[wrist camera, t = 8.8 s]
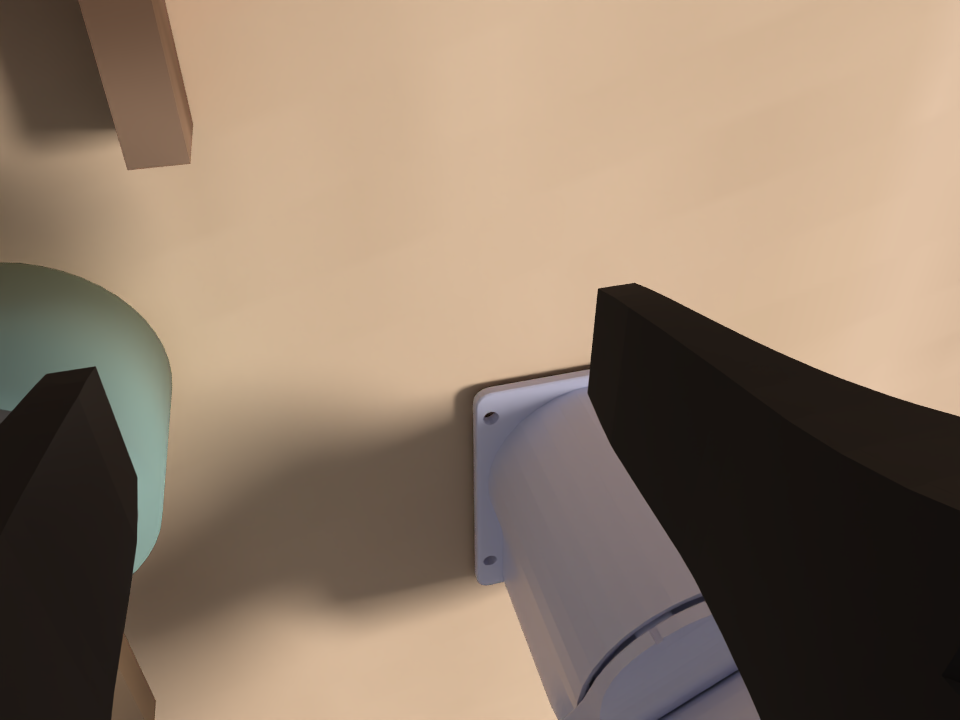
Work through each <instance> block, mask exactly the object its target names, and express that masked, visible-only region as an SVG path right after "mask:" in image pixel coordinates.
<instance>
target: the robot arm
mask: <svg viewBox="0 0 960 720" xmlns="http://www.w3.org/2000/svg"><path fill="white" fill-rule="evenodd" d="M489 412H494V413H493V414H492V415H491V416H489V417H484V416H485V415H486V414H487V413H489ZM473 446H474V530H475V575H476V578H477V581H478V583H480V584H481V585H492V584H496V583H500V582H504V583H505V585H506V588H507V590H508V593H509V596H510V598H511V601H512V604H513V606H514V609H515V612H516V614H517V617H518V620H519V622H520V625H521V628H522V630H523V633H524V636H525V638H526V641H527V644H528V646H529V649H530V652H531V654H532V657H533V660H534V662H535V665H536V667H537V670H538V673H539V675H540V678H541V681H542V683H543V686H544V689H545V691H546V694H547V697H548V699H549V702H550V704H551V707H552V709H553V711H554V713H555V715H556V717H557V719H558V720H960V417H959V416H956V415H952V414H949V413H945V412H942V411H938V410H934V409H931V408H927V407H924V406H920V405H917V404H914V403H911V402H907V401H904V400H901V399H898V398H895V397H892V396H889V395H886V394H883V393H880V392H877V391H874V390H872V389H869V388H866V387H863V386H860V385H858V384H855V383H852V382H849V381H846V380H844V379H841V378H838V377H836V376H833V375H831V374H828V373H826V372H823V371H821V370H818V369H816V368H813V367H811V366H809V365H807V364H804V363H802V362H800V361H797V360H795V359H793V358H791V357H788V356H786V355H784V354H781V353H779V352H777V351H775V350H773V349H770V348H768V347H766V346H764V345H762V344H760V343H758V342H755V341H753V340H751V339H749V338H747V337H745V336H743V335H741V334H739V333H737V332H735V331H733V330H731V329H729V328H727V327H725V326H723V325H721V324H719V323H717V322H715V321H713V320H711V319H709V318H707V317H705V316H703V315H701V314H699V313H697V312H695V311H693V310H691V309H689V308H687V307H685V306H683V305H681V304H679V303H678V302H676V301H673V300H671V299H669V298H667V297H665V296H663V295H661V294H659V293H657V292H655V291H653V290H650V289H648V288H646V287H643V286H641V285H638V284H636V283H631V284H625V285H618V286H612V287H605V288H599V289H598V294H597V304H596V314H595V323H594V333H593V343H592V353H591V363H590V369H588V370H582V371H577V372H571V373H565V374H560V375H554V376H549V377H543V378H537V379H532V380H526V381H521V382H515V383H510V384H504V385H498V386H493V387H488V388H485V389H482V390H481V391H479V392H478V393H477V394H476V395H475V397H474V400H473ZM137 523H138V477H137V474H136V472H135V469H134V466H133V464H132V461H131V458H130V456H129V453H128V451H127V448H126V445H125V443H124V440H123V437H122V435H121V432H120V429H119V427H118V424H117V421H116V419H115V416H114V413H113V411H112V408H111V405H110V403H109V400H108V397H107V395H106V392H105V390H104V387H103V384H102V382H101V379H100V376H99V374H98V371H97V368H96V366H94V367H87V368H81V369H74V370H68V371H61V372H55V373H48V374H46V375H45V376H44V377H43V378H42V379H41V380H40V381H39V382H38V383H37V384H36V385H35V386H34V387H33V388H32V389H31V390H30V391H29V392H28V393H27V395H26V396H25V397H24V398H23V399H22V400H21V401H20V402H19V404H18V405H17V406H16V407H15V408H14V409H13V410H12V411H11V413H10V414H9V415H8V416H7V417H6V418H5V419H4V420H3V422H2V423H1V424H0V720H111V718H112V708H113V699H114V691H115V684H116V678H117V671H118V665H119V659H120V652H121V646H122V639H123V633H124V627H125V620H126V614H127V607H128V601H129V594H130V588H131V581H132V574H133V567H134V561H135V554H136V546H137Z"/></svg>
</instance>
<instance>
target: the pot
mask: <svg viewBox="0 0 960 720" xmlns="http://www.w3.org/2000/svg"><path fill="white" fill-rule="evenodd" d="M94 366H96V368H97V371H98V374H99V376H100V379H101V382H102V384H103V387H104V390H105V392H106V395H107V397H108V400H109V403H110V405H111V408H112V411H113V413H114V416H115V419H116V421H117V424H118V427H119V429H120V432H121V435H122V437H123V440H124V443H125V445H126V448H127V451H128V453H129V456H130V458H131V461H132V464H133V466H134V469H135V472H136V474H137V477H138V523H137V546H136V554H135V561H134V567H133V573H134V572H135V571H136V570H137V569H139V567H140V566H141V565H142V564H143V562H144V561H145V560H146V558H147V557H148V556H149V554H150V552H151V550H152V549H153V547H154V545H155V543H156V540H157V538H158V535H159V532H160V528H161V521H162V513H163V500H164V487H165V474H166V460H167V447H168V434H169V421H170V408H171V395H172V373H171V368H170V364H169V359H168V357H167V354H166V352H165V349H164V347H163V345H162V343H161V342H160V340H159V338H158V336H157V335H156V333H155V332H154V330H153V329H152V328H151V327H150V325H149V324H148V323H147V322H146V320H145V319H144V318H143V317H142V316H141V315H140V314H139V313H138V312H136V311H135V310H134V309H133V308H132V307H131V306H130V305H128V304H127V303H126V302H124V301H123V300H122V299H120V298H119V297H118V296H116V295H114V294H113V293H111V292H109V291H108V290H106V289H104V288H103V287H101V286H99V285H97V284H94V283H92V282H90V281H88V280H86V279H84V278H81V277H78V276H75V275H72V274H69V273H66V272H64V271H60V270H56V269H51V268H47V267H43V266H36V265H29V264H22V263H0V424H1V423H2V422H3V420H4V419H5V418H6V417H7V416H8V415H9V414H10V413H11V411H12V410H13V409H14V408H15V407H16V406H17V405H18V404H19V402H20V401H21V400H22V399H23V398H24V397H25V396H26V395H27V393H28V392H29V391H30V390H31V389H32V388H33V387H34V386H35V385H36V384H37V383H38V382H39V381H40V380H41V379H42V378H43V377H44V376H45V375H46V374H48V373H55V372H61V371H68V370H74V369H81V368H87V367H94ZM155 704H156V700H155V698H154V696H153V694H152V692H151V689H150V687H149V685H148V683H147V681H146V679H145V677H144V675H143V673H142V670H141V668H140V666H139V664H138V662H137V660H136V658H135V656H134V653H133V651H132V649H131V647H130V645H129V643H128V641H127V639H126V636H125V634H124V633H123V639H122V646H121V652H120V659H119V665H118V671H117V678H116V684H115V691H114V699H113V708H112V718H111V720H154V718H155Z"/></svg>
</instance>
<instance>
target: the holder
mask: <svg viewBox="0 0 960 720" xmlns="http://www.w3.org/2000/svg"><path fill="white" fill-rule="evenodd" d="M78 2H79V5H80V8H81V12H82V15H83V19H84V22H85V26H86V29H87V33H88V36H89V39H90V43H91V46H92V50H93V53H94V57H95V60H96V63H97V67H98V70H99V74H100V77H101V81H102V84H103V88H104V91H105V94H106V98H107V101H108V105H109V108H110V112H111V115H112V118H113V122H114V125H115V129H116V132H117V136H118V139H119V143H120V146H121V149H122V153H123V156H124V160H125V163H126V167H127V170H134V169H144V168H153V167H163V166H173V165H183V164H190V161H191V146H192V132H193V122H192V118H191V113H190V109H189V105H188V100H187V96H186V91H185V87H184V83H183V78H182V74H181V70H180V65H179V61H178V57H177V52H176V48H175V43H174V39H173V35H172V30H171V26H170V22H169V17H168V13H167V9H166V4H165V0H78Z"/></svg>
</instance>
